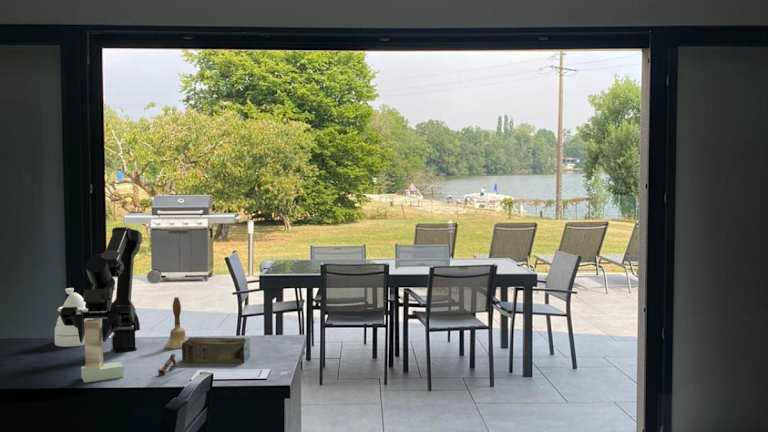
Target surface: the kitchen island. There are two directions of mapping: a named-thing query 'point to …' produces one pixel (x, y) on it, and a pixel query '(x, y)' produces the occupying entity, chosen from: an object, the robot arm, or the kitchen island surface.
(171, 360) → the wooden post with brackets
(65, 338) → the honey pot
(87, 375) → the pale green block
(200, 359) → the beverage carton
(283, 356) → the kitchen island surface
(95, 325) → the beech post
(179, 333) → the hand bell
